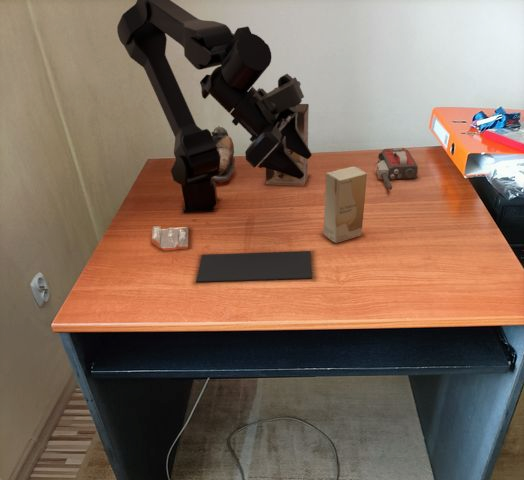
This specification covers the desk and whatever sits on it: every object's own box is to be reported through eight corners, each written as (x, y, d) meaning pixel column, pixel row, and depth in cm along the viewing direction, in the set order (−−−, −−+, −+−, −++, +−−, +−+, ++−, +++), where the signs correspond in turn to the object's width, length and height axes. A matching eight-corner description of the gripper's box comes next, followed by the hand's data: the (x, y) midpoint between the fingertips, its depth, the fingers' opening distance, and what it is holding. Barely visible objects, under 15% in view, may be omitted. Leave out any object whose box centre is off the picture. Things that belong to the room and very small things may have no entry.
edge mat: (196, 282, 89) (195, 281, 89) (202, 256, 96) (202, 254, 96) (312, 279, 88) (312, 277, 88) (310, 252, 95) (310, 250, 94)
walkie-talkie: (369, 160, 127) (384, 194, 111) (371, 142, 124) (386, 174, 108) (405, 158, 126) (425, 192, 111) (408, 140, 123) (428, 172, 108)
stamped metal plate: (154, 232, 104) (153, 226, 103) (188, 229, 104) (187, 222, 103) (151, 252, 98) (150, 245, 97) (188, 248, 98) (187, 241, 97)
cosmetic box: (335, 244, 96) (337, 180, 88) (322, 235, 99) (323, 172, 91) (363, 235, 98) (368, 172, 90) (350, 226, 101) (354, 164, 93)
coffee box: (265, 185, 119) (261, 111, 108) (271, 174, 124) (267, 102, 113) (304, 186, 117) (304, 111, 107) (308, 175, 122) (309, 102, 111)
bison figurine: (232, 186, 119) (228, 141, 113) (202, 187, 120) (196, 143, 113) (237, 166, 128) (234, 124, 122) (209, 167, 129) (204, 125, 123)
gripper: (260, 76, 75) (334, 154, 80) (283, 49, 89) (344, 116, 94) (214, 131, 82) (285, 200, 87) (242, 98, 95) (302, 159, 100)
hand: (306, 166), depth 92 cm, fingers open, 9 cm apart
